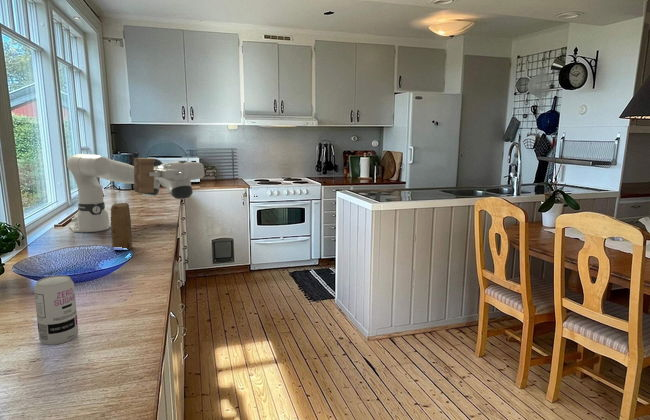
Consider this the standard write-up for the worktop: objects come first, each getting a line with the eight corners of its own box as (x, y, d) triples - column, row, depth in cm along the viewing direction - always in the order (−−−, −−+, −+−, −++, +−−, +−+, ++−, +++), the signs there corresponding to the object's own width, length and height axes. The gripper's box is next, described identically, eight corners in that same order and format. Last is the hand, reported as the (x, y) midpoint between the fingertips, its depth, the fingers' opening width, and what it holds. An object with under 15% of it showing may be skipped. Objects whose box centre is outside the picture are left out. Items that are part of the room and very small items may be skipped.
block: (130, 251, 181) (128, 205, 177) (111, 252, 179) (108, 206, 175) (133, 245, 191) (131, 201, 188) (115, 246, 189) (112, 202, 185)
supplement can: (50, 331, 108) (45, 274, 105) (84, 330, 108) (79, 274, 106) (31, 346, 100) (25, 286, 97) (68, 345, 101) (62, 285, 98)
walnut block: (134, 191, 188) (133, 157, 186) (147, 190, 192) (147, 158, 190) (140, 193, 184) (140, 158, 182) (153, 192, 189) (153, 158, 186)
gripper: (185, 180, 191) (156, 182, 181) (162, 177, 205) (134, 178, 194) (185, 166, 190) (155, 168, 180) (162, 164, 203) (133, 165, 193)
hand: (144, 173), depth 187 cm, fingers closed on walnut block, 6 cm apart
